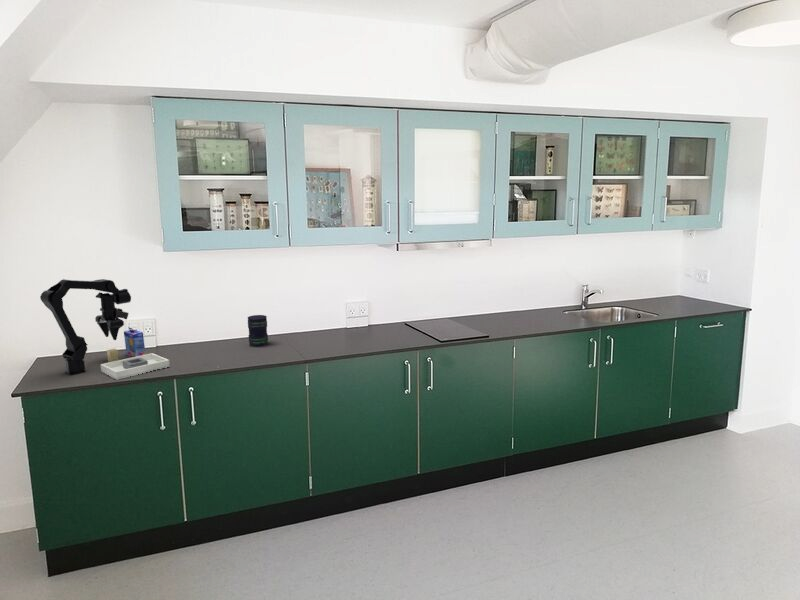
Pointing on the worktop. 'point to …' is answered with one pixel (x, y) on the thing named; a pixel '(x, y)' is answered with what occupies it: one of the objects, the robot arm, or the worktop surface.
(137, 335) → the ink cartridge box
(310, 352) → the worktop surface
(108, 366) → the walled box
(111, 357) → the peg
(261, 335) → the storage jar
